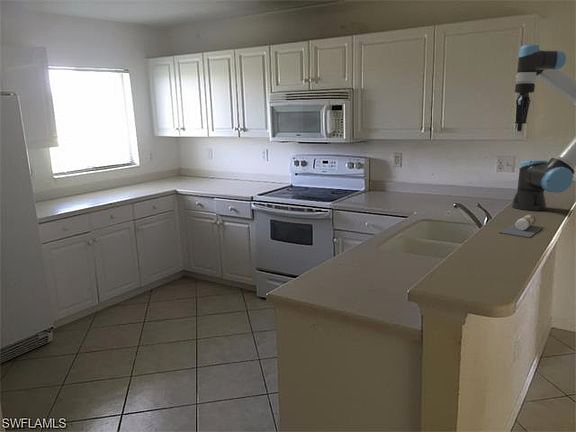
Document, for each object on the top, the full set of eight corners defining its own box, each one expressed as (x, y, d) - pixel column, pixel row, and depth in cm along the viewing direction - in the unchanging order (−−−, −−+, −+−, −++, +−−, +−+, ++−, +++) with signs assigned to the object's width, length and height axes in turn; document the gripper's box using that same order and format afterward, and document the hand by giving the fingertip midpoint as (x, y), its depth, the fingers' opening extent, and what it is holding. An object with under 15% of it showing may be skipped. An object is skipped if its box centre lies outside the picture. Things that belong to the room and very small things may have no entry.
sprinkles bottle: (528, 212, 199) (519, 217, 189) (538, 218, 197) (530, 223, 187) (521, 221, 201) (512, 226, 191) (532, 227, 199) (523, 233, 189)
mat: (514, 223, 202) (514, 222, 202) (542, 228, 195) (542, 227, 195) (499, 233, 188) (499, 232, 187) (529, 238, 181) (529, 237, 180)
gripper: (520, 83, 214) (514, 137, 219) (511, 82, 204) (505, 138, 209) (538, 83, 209) (532, 138, 214) (530, 82, 199) (524, 139, 205)
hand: (519, 138), depth 212 cm, fingers closed
